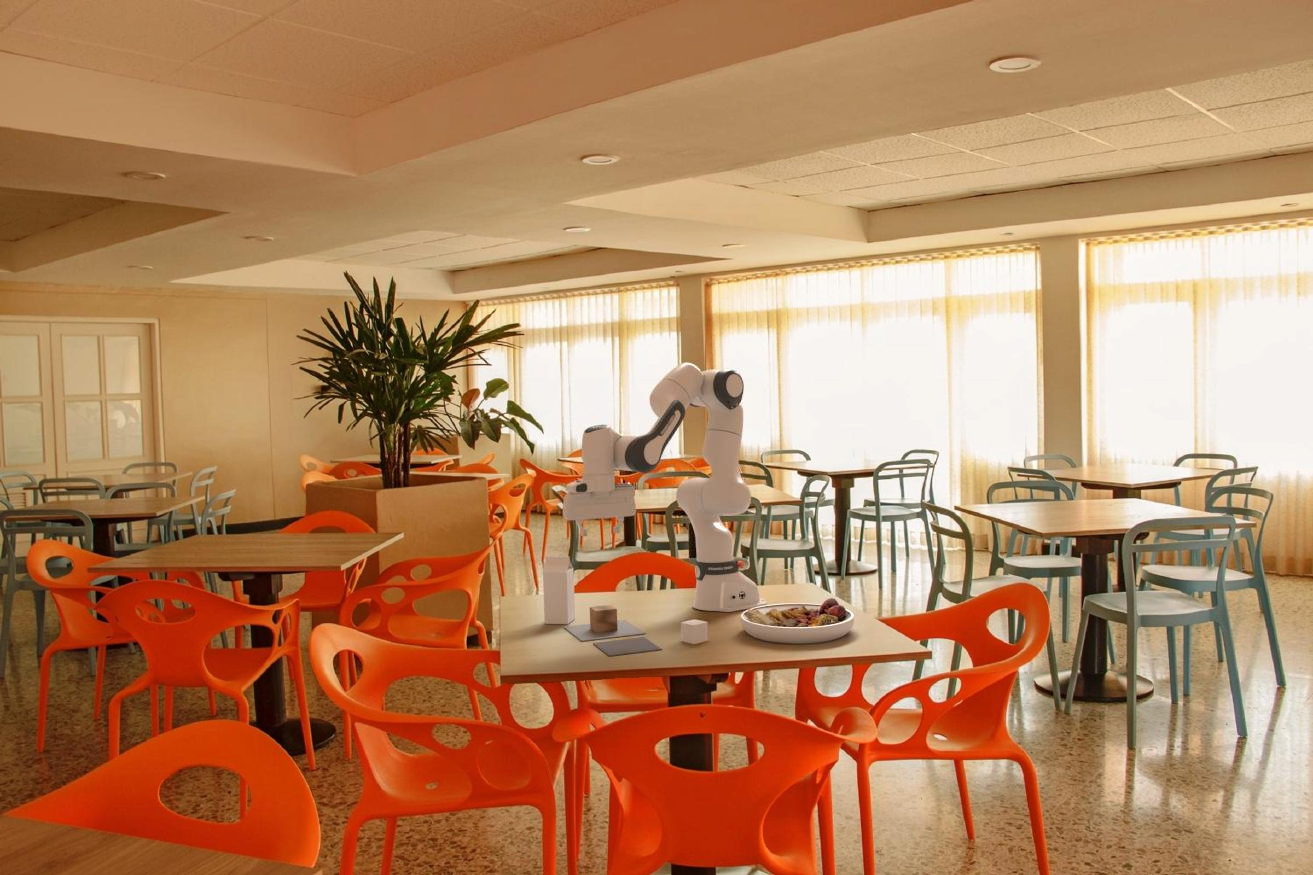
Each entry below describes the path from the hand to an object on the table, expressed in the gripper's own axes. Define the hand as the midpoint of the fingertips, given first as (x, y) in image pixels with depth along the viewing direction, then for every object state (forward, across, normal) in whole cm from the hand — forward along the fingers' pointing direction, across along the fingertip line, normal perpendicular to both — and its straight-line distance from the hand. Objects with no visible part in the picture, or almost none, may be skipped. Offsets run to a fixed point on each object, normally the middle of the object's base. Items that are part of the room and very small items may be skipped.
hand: (600, 534), depth 275 cm
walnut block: (+26, 0, 0) cm, 26 cm away
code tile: (+27, 0, 0) cm, 27 cm away
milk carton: (+27, +8, -17) cm, 33 cm away
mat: (+27, 0, +20) cm, 33 cm away
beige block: (+27, -18, +22) cm, 39 cm away
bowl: (+27, -46, +26) cm, 60 cm away
